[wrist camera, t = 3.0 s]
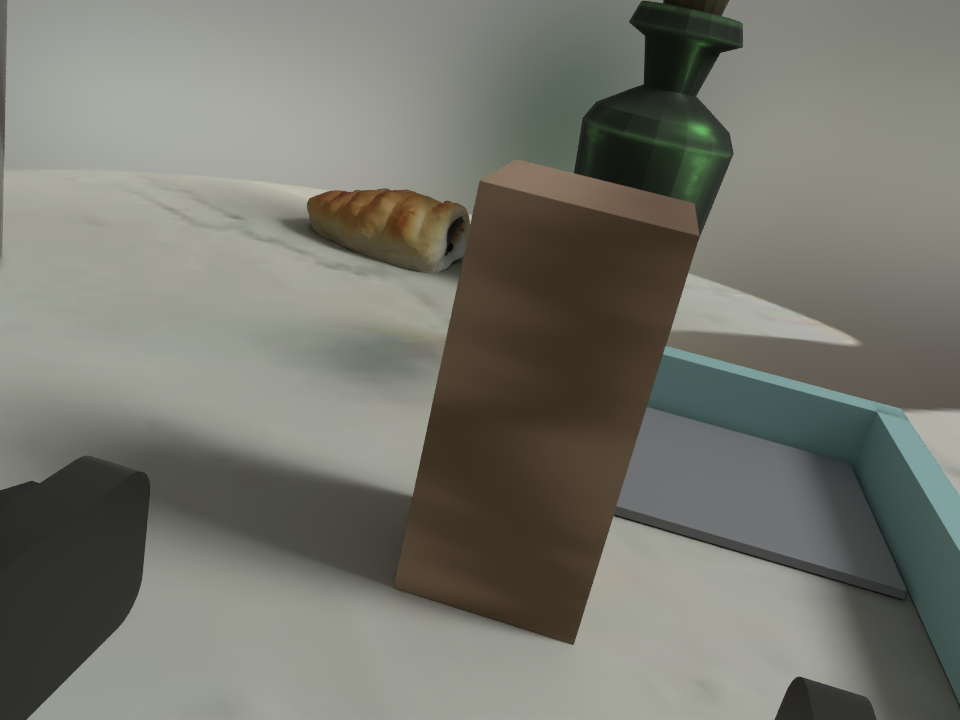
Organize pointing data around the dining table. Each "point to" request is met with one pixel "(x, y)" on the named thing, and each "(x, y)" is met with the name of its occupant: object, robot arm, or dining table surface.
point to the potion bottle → (666, 109)
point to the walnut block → (542, 392)
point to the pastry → (393, 226)
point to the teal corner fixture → (800, 484)
